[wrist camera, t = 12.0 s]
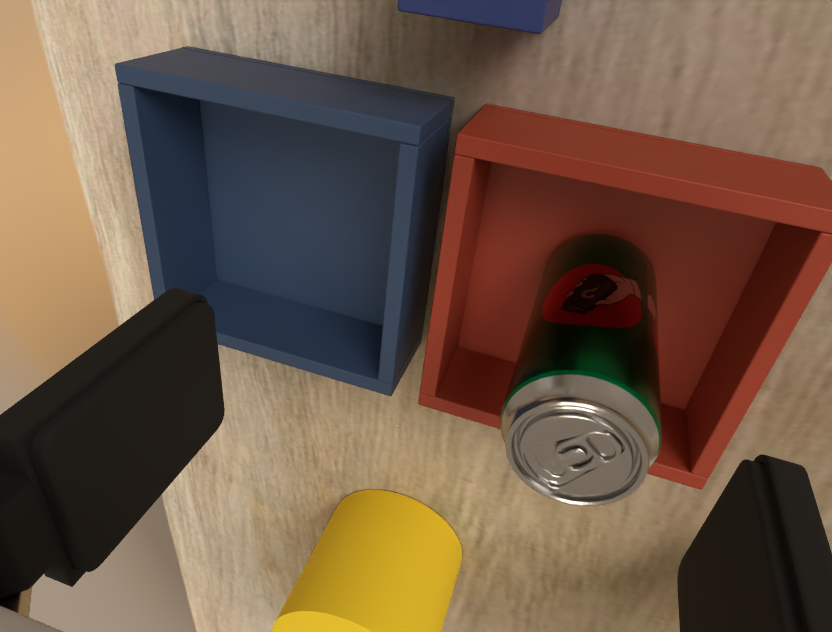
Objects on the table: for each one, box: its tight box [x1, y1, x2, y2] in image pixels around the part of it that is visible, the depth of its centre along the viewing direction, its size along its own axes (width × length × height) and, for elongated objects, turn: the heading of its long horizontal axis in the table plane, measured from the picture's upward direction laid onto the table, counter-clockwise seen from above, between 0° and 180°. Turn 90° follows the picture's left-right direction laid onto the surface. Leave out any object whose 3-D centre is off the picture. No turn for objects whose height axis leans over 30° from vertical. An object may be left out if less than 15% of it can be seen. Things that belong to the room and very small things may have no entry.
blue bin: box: [115, 46, 454, 396], centre depth 29 cm, size 14×14×5 cm
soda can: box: [500, 234, 662, 506], centre depth 23 cm, size 5×5×12 cm
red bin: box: [418, 104, 832, 489], centre depth 26 cm, size 14×14×5 cm
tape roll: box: [272, 490, 462, 632], centre depth 40 cm, size 10×10×9 cm
